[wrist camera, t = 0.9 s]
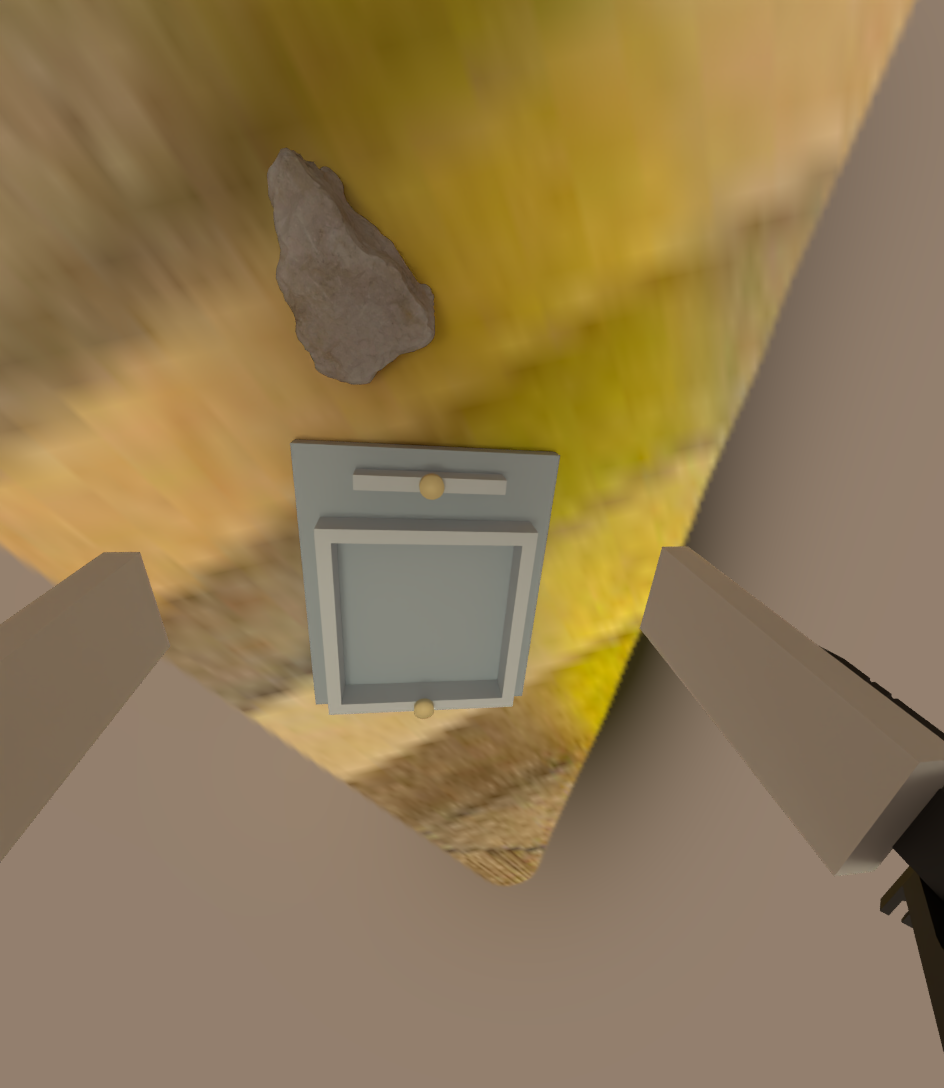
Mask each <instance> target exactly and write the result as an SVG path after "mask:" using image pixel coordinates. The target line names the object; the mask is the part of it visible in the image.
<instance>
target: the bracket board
mask: <svg viewBox="0 0 944 1088" xmlns="http://www.w3.org/2000/svg"><path fill="white" fill-rule="evenodd" d="M290 446H291V456H292V466H293V477H294V487H295V497H296V507H297V517H298V527H299V538H300V548H301V558H302V568H303V578H304V588H305V598H306V609H307V619H308V629H309V639H310V649H311V659H312V670H313V680H314V690H315V700H316V704H328V708H329V715H335V714H357V713H379V712H401V711H414V714H415V716H416V717H418V718H420V719H426V718H429V717H431V716H432V715H433V713H434V710H445V709H467V708H489V707H511V706H512V705H513V699H514V696H522V692H523V685H524V679H525V673H526V667H527V660H528V654H529V648H530V641H531V635H532V629H533V623H534V616H535V610H536V604H537V597H538V591H539V585H540V579H541V572H542V566H543V560H544V553H545V547H546V541H547V535H548V528H549V522H550V516H551V509H552V503H553V497H554V490H555V484H556V478H557V472H558V465H559V459H560V455H558V454H557V453H556V452H545V451H524V450H503V449H483V448H462V447H442V446H421V445H400V444H380V443H359V442H338V441H318V440H297V439H295V440H293V441H292V442H291V443H290Z"/></svg>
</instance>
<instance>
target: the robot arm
mask: <svg viewBox="0 0 944 1088" xmlns="http://www.w3.org/2000/svg"><path fill="white" fill-rule="evenodd" d="M640 629H641V630H642V631H643V633H644V634H645V635H646V637H647V638H648V639H649V640H650V642H651V643H652V644H653V646H654V647H655V648H656V649H657V650H658V652H659V653H660V654H661V656H662V657H663V658H664V660H665V661H666V662H667V663H668V665H669V666H670V667H671V669H672V670H673V671H674V672H675V674H676V675H677V676H678V677H679V679H680V680H681V681H682V683H683V684H684V685H685V686H686V688H687V689H688V690H689V692H690V693H691V694H692V695H693V696H694V698H695V699H696V700H697V702H698V703H699V704H700V706H701V707H702V708H703V709H704V711H705V712H706V713H707V714H708V716H709V717H710V718H711V719H712V721H713V722H714V723H715V725H716V726H717V727H718V728H719V730H720V731H721V732H722V733H723V735H724V736H725V738H726V739H727V740H728V741H729V743H730V744H731V745H732V746H733V748H734V749H735V750H736V752H737V753H738V754H739V755H740V757H741V758H742V759H743V760H744V762H745V763H746V764H747V765H748V767H749V768H750V769H751V770H752V772H753V773H754V775H755V776H756V777H757V778H758V779H759V781H760V782H761V783H762V785H763V786H764V787H765V789H766V790H767V791H768V792H769V794H770V795H771V796H772V798H773V799H774V800H775V801H776V802H777V804H778V805H779V806H780V808H781V809H782V810H783V812H784V813H785V814H786V815H787V816H788V818H789V819H790V821H791V822H792V823H793V824H794V826H795V827H796V828H797V829H798V831H799V832H800V833H801V835H802V836H803V837H804V838H805V840H806V841H807V842H808V843H809V845H810V846H811V847H812V849H813V850H814V851H815V852H816V854H817V855H818V856H819V858H820V859H821V860H822V861H823V863H824V864H825V865H826V867H827V868H828V869H829V870H830V872H831V873H832V874H833V875H834V876H841V875H848V874H856V873H864V872H871V871H875V870H876V869H877V867H878V866H879V865H880V864H881V862H882V861H883V860H884V859H885V858H886V856H887V855H888V854H889V853H890V851H891V850H892V849H894V850H895V851H896V852H897V853H898V854H899V855H900V856H901V857H902V858H903V859H904V860H905V861H906V863H907V864H908V865H909V867H908V868H907V869H906V871H905V872H904V873H903V874H902V875H901V876H900V877H899V879H898V880H897V881H896V882H895V883H894V884H893V886H892V887H891V888H890V889H889V890H888V891H887V892H886V894H885V895H884V896H883V897H882V898H881V903H880V911H881V912H883V913H885V914H887V915H890V913H891V912H892V911H893V910H894V909H895V908H896V907H897V906H898V905H899V904H900V903H901V901H902V900H903V901H906V902H907V906H908V910H909V911H908V912H907V913H906V914H905V915H904V917H903V918H902V923H904V924H906V925H908V926H910V927H912V928H913V930H914V934H915V938H916V942H917V946H918V950H919V954H920V958H921V962H922V966H923V970H924V974H925V978H926V982H927V986H928V991H929V995H930V999H931V1003H932V1006H933V1011H934V1015H935V1019H936V1023H937V1027H938V1031H939V1035H940V1039H941V1043H942V1047H943V1051H944V733H943V732H942V731H940V730H939V729H938V728H936V727H935V726H934V725H932V724H931V723H930V722H928V721H927V720H925V719H924V718H923V717H921V716H920V715H919V714H917V713H916V712H915V711H913V710H912V709H911V708H909V707H908V706H906V705H905V704H904V703H903V702H901V701H900V700H899V699H893V698H892V696H891V693H889V692H888V691H887V690H885V689H884V688H882V687H881V686H880V685H878V684H877V683H876V682H871V681H870V678H869V677H868V676H866V675H865V674H864V673H862V672H861V671H860V670H858V669H857V668H856V667H854V666H853V665H852V664H850V663H849V662H847V661H846V660H845V659H843V658H841V657H839V656H837V655H836V654H834V653H832V652H830V651H827V650H826V649H824V648H822V647H820V646H818V645H817V644H816V643H814V642H813V641H812V640H810V639H809V638H808V637H806V636H805V635H804V634H802V633H801V632H800V631H798V630H797V629H796V628H795V627H793V626H792V625H791V624H789V623H788V622H787V621H785V620H784V619H783V618H781V617H780V616H779V615H777V614H776V613H775V612H773V611H772V610H771V609H769V608H768V607H767V606H765V605H764V604H763V603H762V602H760V601H759V600H757V599H756V598H755V597H754V596H752V595H751V594H750V593H748V592H747V591H746V590H744V589H743V588H742V587H740V586H739V585H738V584H737V583H735V582H734V581H733V580H731V579H730V578H729V577H727V576H726V575H725V574H723V573H722V572H721V571H719V570H718V569H717V568H715V567H714V566H713V565H712V564H710V563H709V562H708V561H706V560H705V559H704V558H702V557H701V556H700V555H698V554H697V553H696V552H694V551H693V550H692V549H690V548H689V547H662V550H661V554H660V557H659V561H658V564H657V568H656V572H655V575H654V579H653V583H652V586H651V590H650V594H649V597H648V601H647V605H646V608H645V612H644V616H643V619H642V623H641V627H640ZM169 647H170V644H169V641H168V638H167V635H166V631H165V628H164V625H163V622H162V619H161V616H160V613H159V610H158V607H157V604H156V600H155V597H154V594H153V591H152V588H151V585H150V582H149V579H148V576H147V573H146V569H145V566H144V563H143V560H142V557H141V554H140V552H104V553H102V554H101V555H99V556H98V557H96V558H95V559H93V560H92V561H91V562H89V563H88V564H86V565H85V566H83V567H82V568H81V569H79V570H78V571H76V572H75V573H73V574H72V575H70V576H69V577H68V578H66V579H65V580H63V581H62V582H60V583H59V584H58V585H56V586H55V587H53V588H52V589H50V590H49V591H47V592H46V593H45V594H43V595H42V596H40V597H39V598H37V599H36V600H35V601H33V602H32V603H30V604H29V605H27V606H26V607H24V608H23V609H22V610H20V611H19V612H17V613H16V614H14V615H13V616H12V617H10V618H9V619H7V620H6V621H4V622H3V623H2V624H0V862H1V861H2V860H3V858H4V857H5V856H6V855H7V853H8V852H9V851H10V850H11V848H12V847H13V846H14V844H15V843H16V842H17V841H18V839H19V838H20V837H21V835H22V834H23V833H24V832H25V830H26V829H27V828H28V827H29V825H30V824H31V823H32V821H33V820H34V819H35V818H36V816H37V815H38V814H39V813H40V811H41V810H42V809H43V807H44V806H45V805H46V804H47V802H48V801H49V800H50V799H51V797H52V796H53V795H54V793H55V792H56V791H57V790H58V788H59V787H60V786H61V785H62V783H63V782H64V781H65V779H66V778H67V777H68V776H69V774H70V773H71V772H72V771H73V769H74V768H75V767H76V765H77V764H78V763H79V762H80V760H81V759H82V758H83V756H84V755H85V754H86V752H87V751H88V750H89V749H90V747H91V746H92V745H93V744H94V743H95V741H96V740H97V739H98V737H99V736H100V735H101V734H102V732H103V731H104V730H105V728H106V727H107V726H108V725H109V723H110V722H111V721H112V720H113V718H114V717H115V715H116V714H117V713H118V712H119V711H120V709H121V708H122V707H123V706H124V704H125V703H126V702H127V700H128V699H129V698H130V697H131V695H132V694H133V693H134V691H135V690H136V689H137V688H138V686H139V685H140V684H141V683H142V681H143V680H144V679H145V678H146V676H147V675H148V674H149V672H150V671H151V670H152V669H153V667H154V666H155V665H156V664H157V662H158V661H159V660H160V658H161V657H162V656H163V655H164V653H165V652H166V651H167V650H168V648H169Z"/></svg>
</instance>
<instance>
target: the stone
mask: <svg viewBox="0 0 944 1088" xmlns="http://www.w3.org/2000/svg"><path fill="white" fill-rule="evenodd" d="M267 179H268V196H269V198H270V200H271V204H272V206H273V208H274V223H275V230H276V233H277V236H278V241H279V244H280V249H281V252H280V259H279V262H278V266H277V271H276V279H277V282H278V285H279V287H280V290H281V291H282V293H283V295H284V298H285V301H286V302H287V304H288V305H289V307H290V308H291V310H292V312H293V313H294V316H295V320H296V335H297V337H298V340H299V341H300V342H301V343H302V344H303V345H304V347H305V350H307V351H308V352H310V355H311V357H312V359H313V361H314V363H315V368H316V370H318V371H319V372H320V373H322V374H324V375H325V376H327V377H330V378H334V379H337V380H339V381H341V382H347V383H349V384H367V383H370V382H371V381H372V380H373V378H374V377H375V375H376V373H377V371H379V370H381V369H383V368H384V367H385V366H386V365H387V364H388V363H390V362H392V361H393V360H394V359H396V358H397V357H398V356H399V355H400V354H403V353H409V352H413V351H416V350H417V349H420V348H423V347H425V346H426V345H428V344H429V343H430V342H431V341H432V339H433V338H434V335H435V317H434V312H435V311H434V307H433V306H434V302H433V301H434V295H433V294H432V292H431V288H430V287H429V286H428V285H426V284H420V283H418V282H417V280H416V279H415V277H414V276H413V274H412V272H411V271H410V270H409V268H408V267H407V265H406V264H405V262H404V261H403V259H402V257H401V256H400V254H399V252H398V251H397V250H396V248H395V246H394V244H393V243H392V242H391V241H390V240H389V239H388V238H386V237H385V236H383V235H382V234H381V233H380V232H379V230H378V229H377V227H376V226H374V225H373V224H371V223H370V222H369V221H368V220H367V219H365V218H364V217H362V216H361V215H359V214H358V213H356V212H355V211H354V210H353V209H352V207H351V206H350V205H349V204H348V202H347V201H346V198H345V195H344V187H343V184H342V182H341V180H340V179H339V178H338V176H337V175H336V174H335V173H334V172H333V171H332V170H331V169H330V168H328V167H322V168H321V169H318V168H317V166H316V165H315V163H314V162H309V161H305V160H303V158H302V156H301V155H300V154H298V153H296V152H295V151H294V150H290V149H288V148H283V149H281V150H280V152H279V154H278V156H277V158H276V160H275V162H274V163H273V164H272V165H271V167H270V168H269V170H268V173H267Z"/></svg>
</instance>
